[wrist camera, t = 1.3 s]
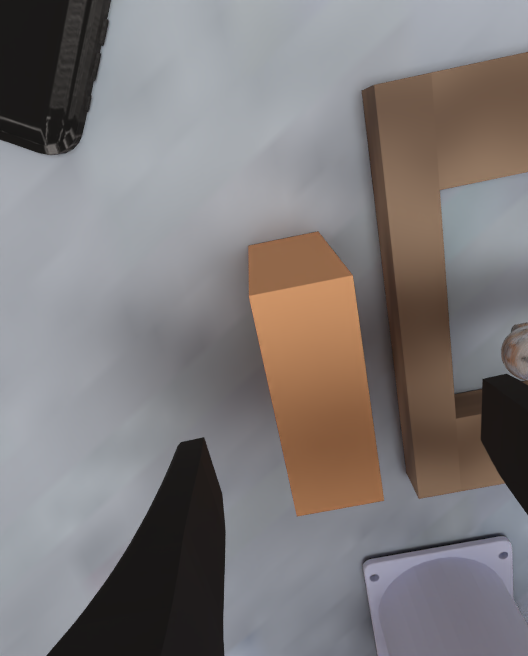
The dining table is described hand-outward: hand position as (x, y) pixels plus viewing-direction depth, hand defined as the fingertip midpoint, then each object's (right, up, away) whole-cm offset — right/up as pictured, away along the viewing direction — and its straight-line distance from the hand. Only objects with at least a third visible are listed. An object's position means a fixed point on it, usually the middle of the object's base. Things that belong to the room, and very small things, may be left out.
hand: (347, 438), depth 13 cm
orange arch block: (-1, +3, +10) cm, 10 cm away
